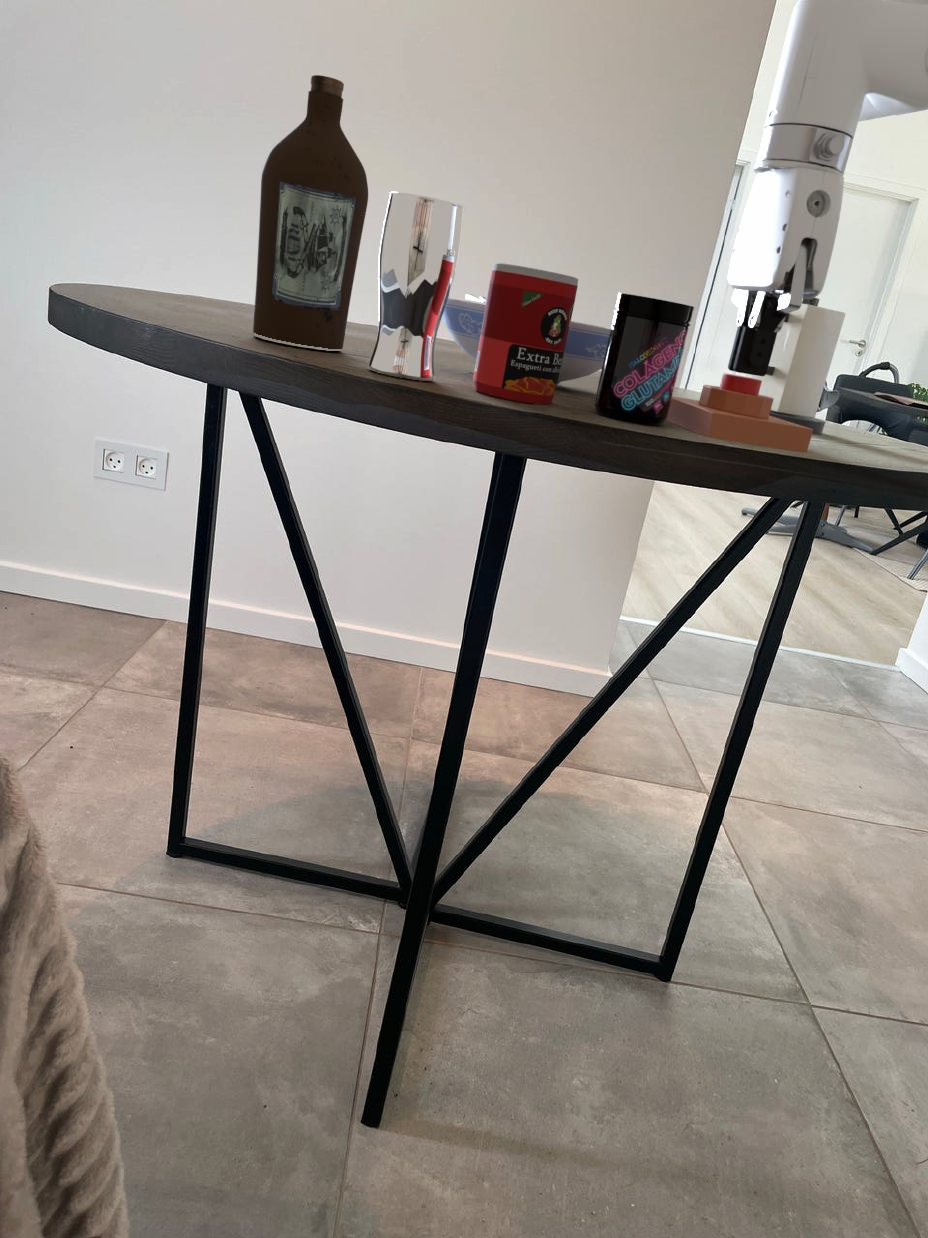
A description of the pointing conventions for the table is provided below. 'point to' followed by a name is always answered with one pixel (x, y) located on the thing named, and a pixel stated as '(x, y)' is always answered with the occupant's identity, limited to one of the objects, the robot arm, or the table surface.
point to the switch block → (738, 419)
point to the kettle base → (801, 421)
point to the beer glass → (414, 282)
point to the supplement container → (642, 359)
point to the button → (740, 384)
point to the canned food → (524, 333)
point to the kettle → (801, 359)
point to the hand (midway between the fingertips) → (746, 372)
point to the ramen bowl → (580, 348)
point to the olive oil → (310, 227)
